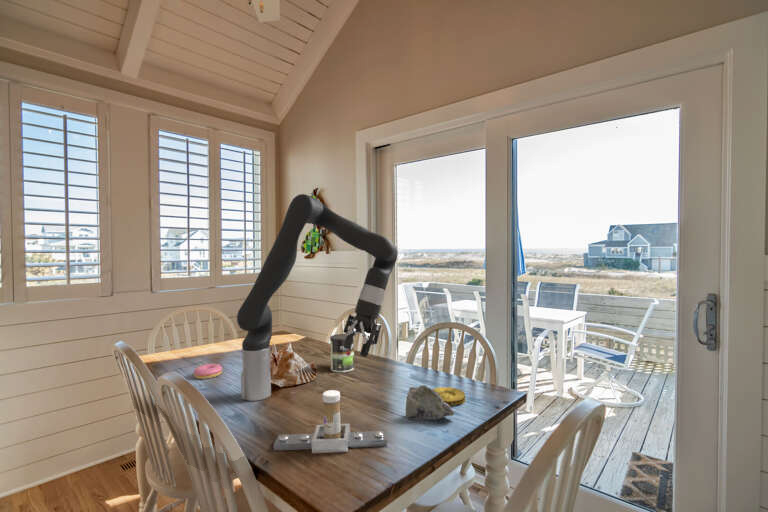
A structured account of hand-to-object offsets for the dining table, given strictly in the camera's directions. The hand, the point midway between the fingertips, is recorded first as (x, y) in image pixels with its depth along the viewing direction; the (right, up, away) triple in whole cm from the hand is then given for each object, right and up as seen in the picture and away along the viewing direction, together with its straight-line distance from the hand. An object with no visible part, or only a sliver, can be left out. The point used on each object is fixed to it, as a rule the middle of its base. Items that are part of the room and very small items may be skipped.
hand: (354, 352), depth 113 cm
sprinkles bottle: (-5, -20, -15) cm, 26 cm away
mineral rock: (+22, -20, -2) cm, 30 cm away
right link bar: (+5, -20, -15) cm, 25 cm away
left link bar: (-14, -20, -16) cm, 29 cm away
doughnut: (-65, -21, +43) cm, 81 cm away
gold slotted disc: (+30, -20, +12) cm, 38 cm away
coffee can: (-9, -20, +48) cm, 52 cm away
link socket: (-5, -20, -15) cm, 26 cm away
